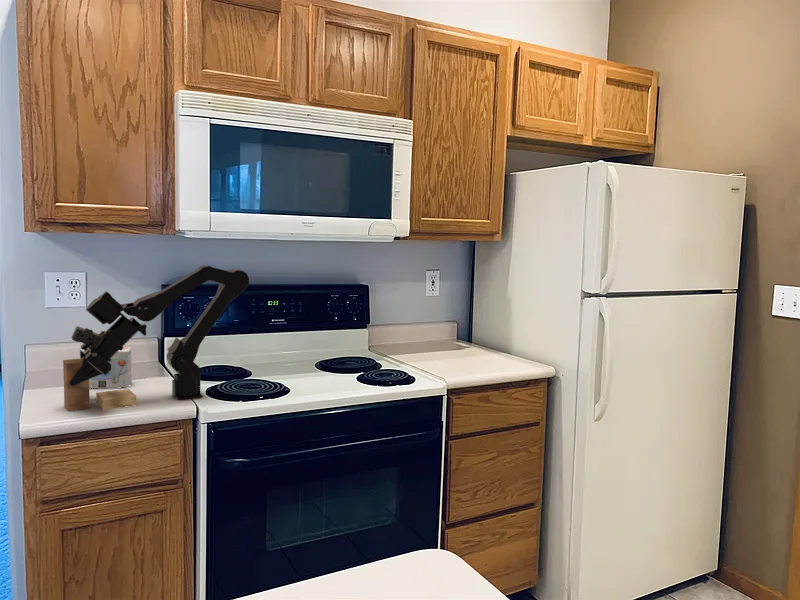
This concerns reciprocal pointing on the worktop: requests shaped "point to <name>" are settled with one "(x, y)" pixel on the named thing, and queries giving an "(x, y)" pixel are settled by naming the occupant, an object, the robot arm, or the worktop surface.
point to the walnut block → (75, 387)
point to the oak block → (115, 399)
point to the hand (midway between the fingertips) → (70, 382)
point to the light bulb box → (115, 372)
